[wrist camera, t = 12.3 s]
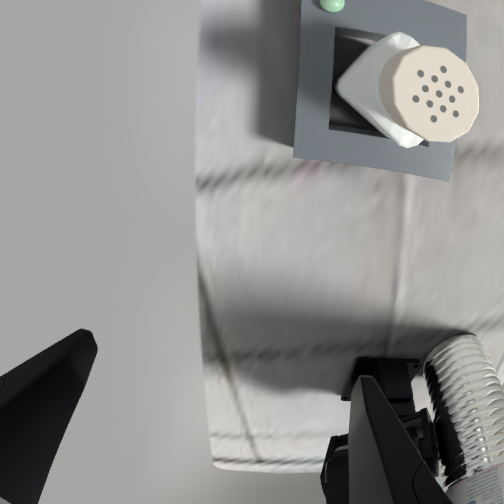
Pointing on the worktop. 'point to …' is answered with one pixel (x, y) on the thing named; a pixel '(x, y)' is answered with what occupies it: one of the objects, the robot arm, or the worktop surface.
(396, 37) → the pepper shaker
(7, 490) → the robot arm
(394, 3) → the socket dock
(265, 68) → the worktop surface
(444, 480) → the water bottle
